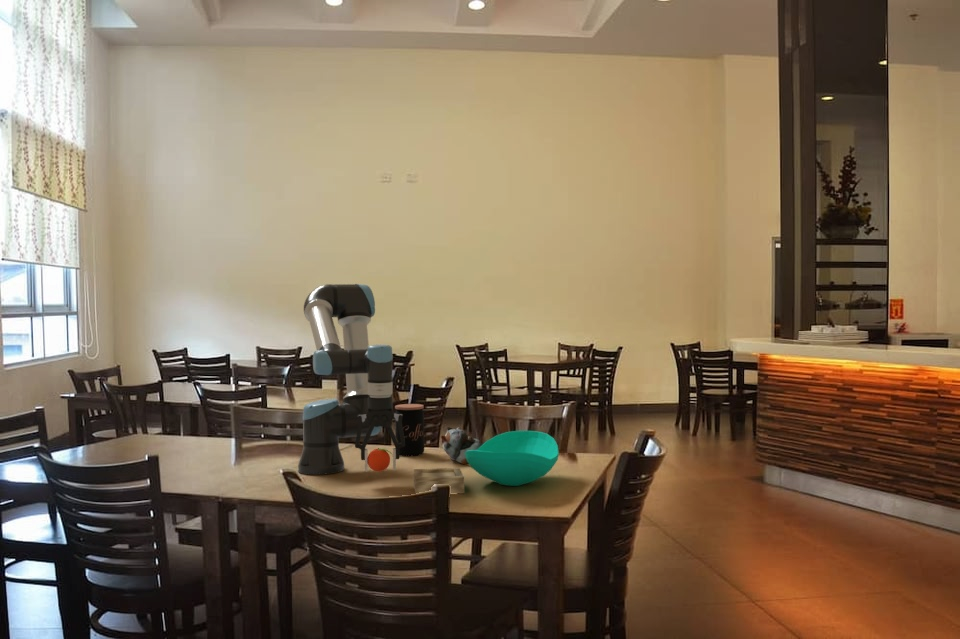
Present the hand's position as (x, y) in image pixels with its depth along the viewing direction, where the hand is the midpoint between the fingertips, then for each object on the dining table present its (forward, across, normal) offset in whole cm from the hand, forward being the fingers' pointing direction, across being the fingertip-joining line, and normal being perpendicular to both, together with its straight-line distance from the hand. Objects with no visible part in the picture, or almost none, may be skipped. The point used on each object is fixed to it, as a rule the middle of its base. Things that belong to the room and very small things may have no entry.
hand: (380, 470), depth 241 cm
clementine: (+1, 0, 0) cm, 1 cm away
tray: (+4, +17, -8) cm, 19 cm away
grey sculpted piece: (+6, +29, +33) cm, 44 cm away
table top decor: (+5, +40, -4) cm, 41 cm away
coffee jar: (+7, +11, +51) cm, 52 cm away
